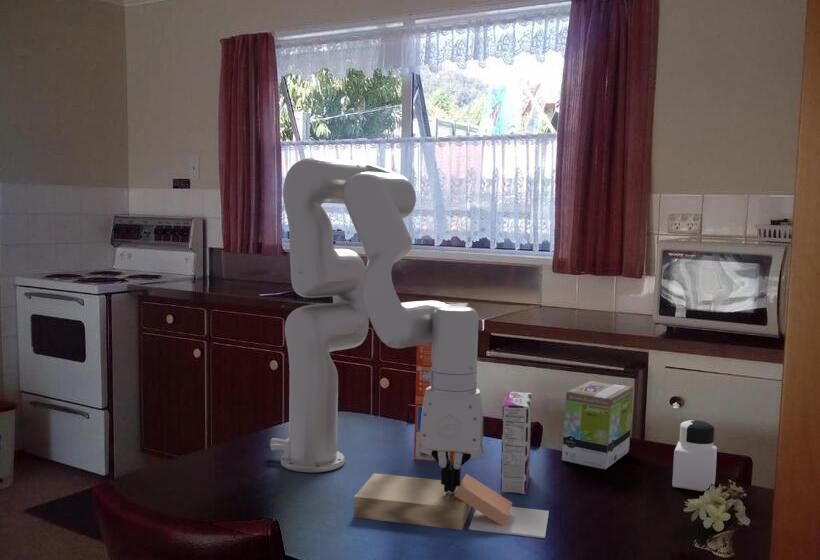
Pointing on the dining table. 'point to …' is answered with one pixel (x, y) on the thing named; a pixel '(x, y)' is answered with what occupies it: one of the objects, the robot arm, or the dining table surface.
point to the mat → (514, 523)
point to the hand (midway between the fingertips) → (450, 489)
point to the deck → (410, 502)
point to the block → (484, 499)
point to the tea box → (597, 424)
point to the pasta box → (424, 366)
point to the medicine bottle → (695, 456)
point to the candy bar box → (516, 442)
